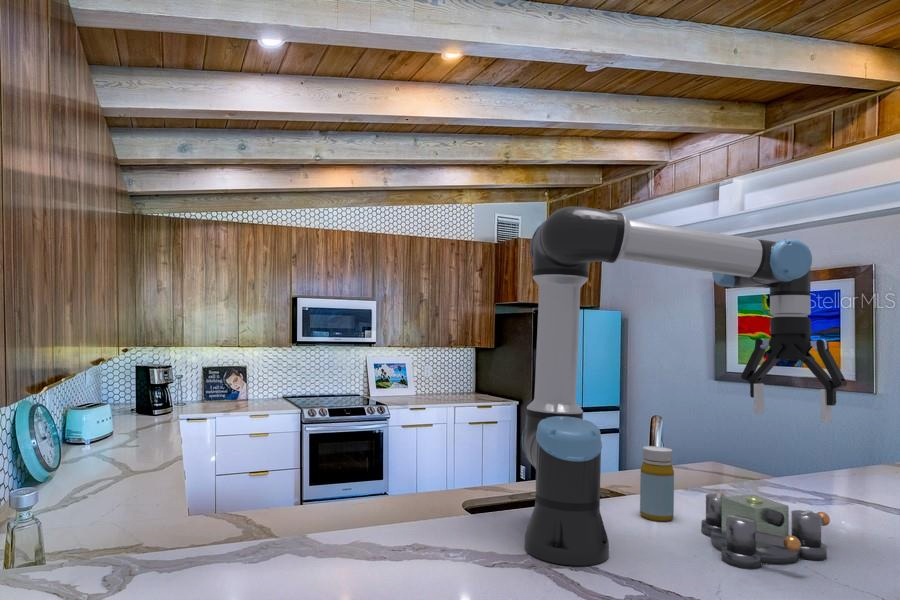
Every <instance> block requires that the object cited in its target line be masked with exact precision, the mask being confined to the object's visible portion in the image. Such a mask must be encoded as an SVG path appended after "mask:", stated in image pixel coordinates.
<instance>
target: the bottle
mask: <svg viewBox="0 0 900 600" xmlns="http://www.w3.org/2000/svg"><path fill="white" fill-rule="evenodd" d="M672 460H673V449H672V448H669V447H665V446H658V445H657V446H656V445H646V446H643V447H642V464H641V466H640V483H639V484H640V487H639V489H640V490H639V491H640V493H639V513H640V515H641V516H642V518H644V519H646V520H649V521H652V522H653V521H654V522H660V523H661V522H665V523H666V522H670V521H671V520H673V518H674V512H675V506H674V505H675V502H674V501H675V499H674V498H675V471H674V467H673V461H672Z"/></svg>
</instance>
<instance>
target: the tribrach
mask: <svg viewBox="0 0 900 600" xmlns="http://www.w3.org/2000/svg"><path fill="white" fill-rule="evenodd" d="M728 515H732V516H743V517H748V518H751V519H753V520H755V521H756V531H760V532H765V533H769V534H774V535H779V536H783V537H786V536H790V535H789V531H790V530H789V529H790V528H789V522H790V521H789V520H790V519H789V515H790V514H789V505H787V504H784V503H781V502H778V501H774V500H771V499H768V498H766V497H763V496H759V495H757V494H754V493H753V494H742V495H725V496H724V497H722V526H715V525H711V524H709V523H707V522H706V518H704V519H702V520H701V524H700V525H701V530H700V531H701V533H702V534H703V535H705V536H708V537H710V539H711V541H710V543H711V544H710V545H711V546H712V547H713V548H714V549H716V550H717V551H719V552H720V555H721V558H720V559H721V561H722V562H724V563H725V564H727V565H729V566H732V567H735V568H740V569H746V570H757V569H760V568H762V564H765V565H778V566H780V565H781V566H782V565H783V566H785V565H792V564H796V563H798V562H799V561H800V560H801V559H802V560H807V561H813V562H814V561H815V562H822V561H826V560H827V556H828V555H827V554H828V553H827V552H828V551H827V545H826V544H824V543H822V542H821V546H820V547H810V546H804V545H801V548H800V550H798V551H797V552H791V551H789V550H787V549H786V548H785V547H781V546H777V545H773V544H768V543H764V542H760V541H756V553H755V554H741V553H736V552H733V551H731V550H729V549H727V548H726V517H727V516H728Z"/></svg>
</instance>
